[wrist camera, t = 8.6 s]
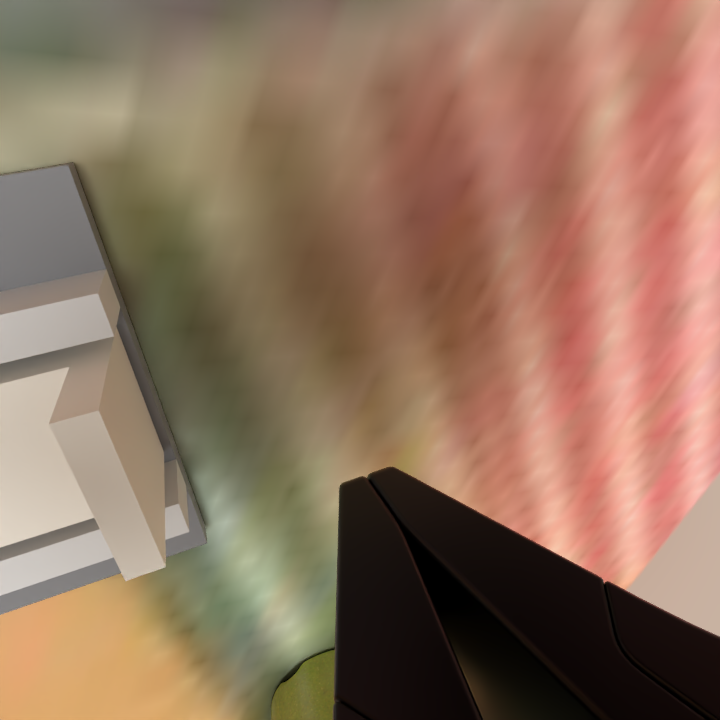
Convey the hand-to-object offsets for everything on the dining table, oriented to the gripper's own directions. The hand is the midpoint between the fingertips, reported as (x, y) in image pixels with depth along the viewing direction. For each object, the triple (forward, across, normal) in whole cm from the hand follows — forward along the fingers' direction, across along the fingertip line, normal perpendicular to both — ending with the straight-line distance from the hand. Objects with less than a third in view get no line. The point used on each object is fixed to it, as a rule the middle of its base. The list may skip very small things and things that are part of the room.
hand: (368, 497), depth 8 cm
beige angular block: (+11, +8, +2) cm, 14 cm away
